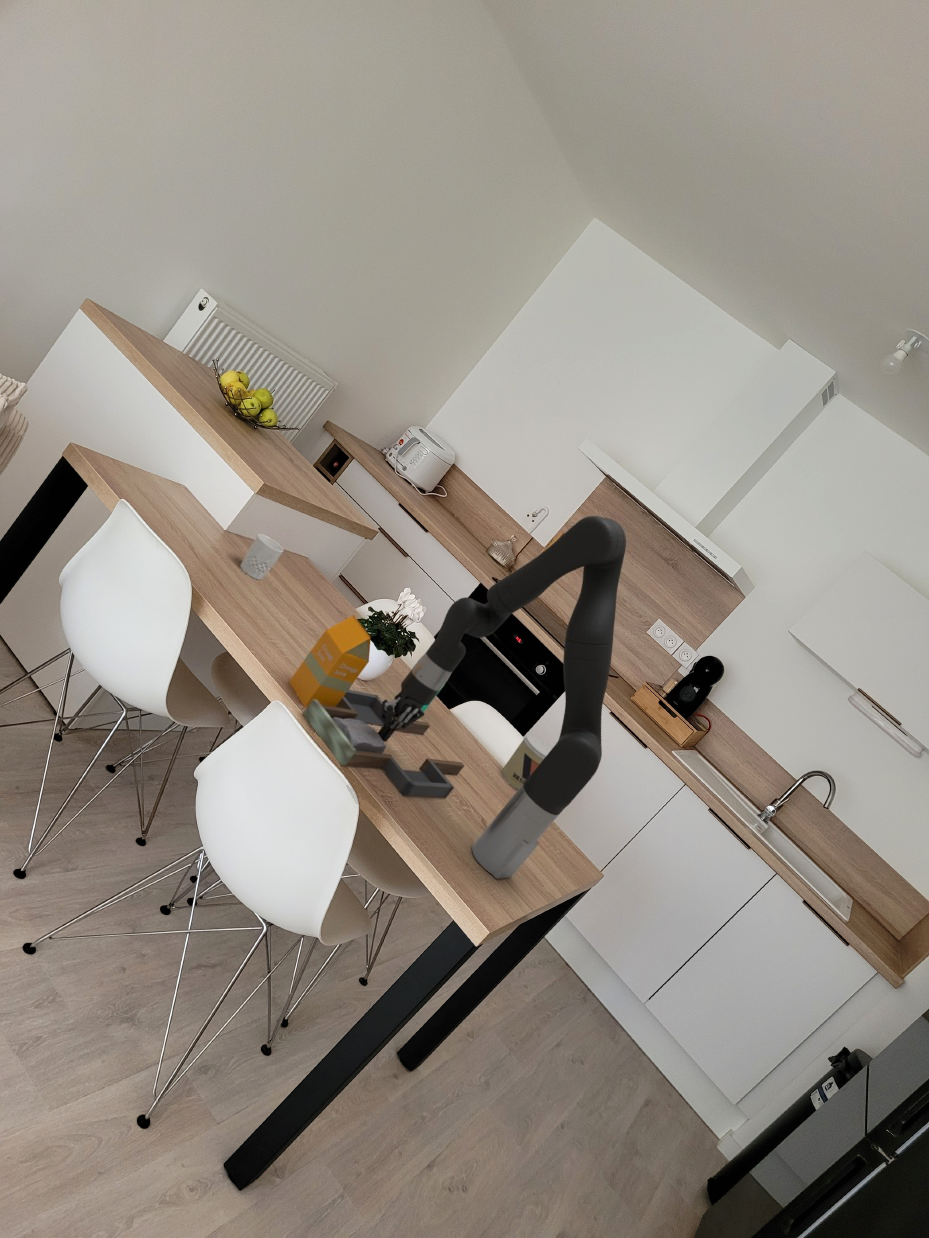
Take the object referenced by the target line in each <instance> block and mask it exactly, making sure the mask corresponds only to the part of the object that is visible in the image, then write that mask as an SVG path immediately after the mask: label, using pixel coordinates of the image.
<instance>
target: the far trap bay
mask: <svg viewBox="0 0 929 1238" xmlns="http://www.w3.org/2000/svg"><path fill="white" fill-rule="evenodd" d="M382 702H383V700H382V699H381V698H380V696H378V695H377V694H372V693H368V692H363V691H358V690H353V689H349V690H348V691H347V693H346V694H345V695H344V696H343V698H342V699H341V700H340V702H339V703H338V704H337V706H336V707H338V708H344V709H350V710H355V711H356V712H357V713H358V715H357V716H356V718H355V720H360V721H363V722H364V723H366V724H368V725H374V726H380V727H382V726H383V725H384V723H385V722H384V721H383V720H382V719H381V713H382Z"/></svg>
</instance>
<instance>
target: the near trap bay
mask: <svg viewBox="0 0 929 1238" xmlns="http://www.w3.org/2000/svg"><path fill="white" fill-rule="evenodd" d="M381 770H382V771H383V773H385V774H386V775H385V776H387V778H389V780H390V781H391V782H392V784H393V786H394V787H395V788H396V789H397V790H398V792H399V793H400V794H401V795H402V797H416V798H417V797H418V798H440V799H441V798H442V799H443V798H444V799H446V798H448V796H449V795H450V793H451V792H452V791H453V790H454V788H455V787H454V786H453V784H452V783H451V781H449V780H448V778H447V777H446V776H445V774H442V773H441V771H440V770H439V769H438V768H437V767H436V765H435V764H434V763H433V762H430V763H429V764H428V765H427V767H426V768H425V769H424V770H423V772H422V771H421V770H410V769H403V768H402V767H401V766H400V764H399V762H397V761H396V759H395V758H394V757H393V758H390V759H389V760H388V762H387V763H386V764H385V766H384V767H383V768H382V769H381Z"/></svg>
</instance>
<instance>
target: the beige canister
mask: <svg viewBox="0 0 929 1238" xmlns="http://www.w3.org/2000/svg"><path fill="white" fill-rule="evenodd" d="M551 750H552V749H550V748H549V747H548V745H546V744H545V743H544V742H543V741H541V740H540V739H539V738H537V737H535V736H533V735H530V734H528V735H526V736H524V737H523V739H522V741H521V742H520V744H518V746H517V748H516V749H515V751H514V752H513V753H512V755H511V756H510V758H509V760H508V761H507V762H506V764H505V765H504V766H503V768H502V769H501V772H500V773H501V776H502V778H503V779H504V780H505V781H506V782H507V783H508V785H510V786H512V788H514V789H516V790H517V791H518V790H519V788H520V787H521V786H522V785H523V784H524V782H525V781H526V780H527V779H528V777H529V776H530V775H531V774H532V773H533V771H534V770H535V769H536V768H537V767H538V766H539V764H540V763H541V762H542V761H543V759H544V758H545V757H546V756H547V755H548V753H549V752H550V751H551Z"/></svg>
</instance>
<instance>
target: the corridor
mask: <svg viewBox="0 0 929 1238" xmlns="http://www.w3.org/2000/svg"><path fill="white" fill-rule="evenodd" d="M302 715H303V717H304V718H305V719H306V721H307V722H308V723H309V725H310V726H311V727H312V729H313V730H314V731H315V733H316V734H317V736H318V738H320V740H321V741H322V743H323V744H324V745H325V746H326V748H327V749H328V750H329V751H330V753H331V754H332V755H333V757H334V758H335V760H336V761H337V762H338V764H339V765H340V766H343V767H344V766H347V767H357V768H368V769H379V770H380V769H381V770H382V768H383V767H384V766H385V764H386V763H387V762H388V760H389V759H390V758H394V756H392V754H390V753H382V754H381V753H372V752H363V751H356V749H355V748H354V747H353V745H352V744H351V743H350V742H349V740H348V739H347V738H346V736H345V735H344V734H343V732H342V731H341V730H340V729H339V727H338V726H337V725H336V723H335V722H334V721H333V719H332V718H333V717H337V718H341V719H355V718H356V716H357V715H358V713H357V712H356V711H355V710H350V709H344V708H338V707H332V706H326V705H321V704H320V703H319V701H318V700H316V699H313V700H312V702H311V703H310V704H309V706H308V707H306V709H305V710H304V712H303V713H302ZM430 727H431V725H430V724H429V723H428V721H427V722H425V721H420V720H416V721H415V722H413V723H412V724H410V725H409V726H407V727H406V728H404V729H402V727H400V728H399V729H398V730H395V731H394V732H400V733H407V734H413V735H421V736H424V735H425V734H426V732H427V731H428V729H429V728H430ZM430 762H433V763H434V764H435V765H436V767H437V768H438V769H439V770H440V771H441V773H442V774H443V775H451V776H458V774H459V773H460V772H461V771H462V770H463V768H464V767H465V764H464V763H463V762H461V761H454V760H446V759H445V760H444V759H435V758H426V759H425V760H424V761H423V763H422V764H421V766H420V767H419V771H422V772H423V770H424V769H425V768H426V767H427V765H428V764H429V763H430Z"/></svg>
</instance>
